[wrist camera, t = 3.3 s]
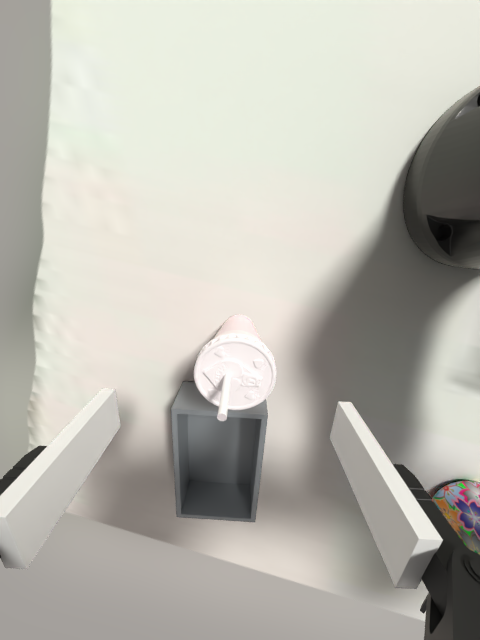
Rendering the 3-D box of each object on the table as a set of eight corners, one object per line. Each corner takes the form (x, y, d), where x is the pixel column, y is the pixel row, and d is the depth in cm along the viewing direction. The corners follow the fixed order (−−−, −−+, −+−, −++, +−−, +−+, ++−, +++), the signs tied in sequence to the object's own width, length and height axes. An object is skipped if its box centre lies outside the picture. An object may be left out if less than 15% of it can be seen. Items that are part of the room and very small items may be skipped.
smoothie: (215, 297, 25) (182, 360, 12) (272, 308, 26) (300, 382, 12) (207, 349, 28) (171, 450, 14) (260, 359, 28) (272, 467, 15)
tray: (183, 381, 29) (171, 408, 24) (264, 386, 29) (267, 415, 24) (186, 479, 35) (176, 516, 30) (253, 483, 35) (255, 522, 30)
